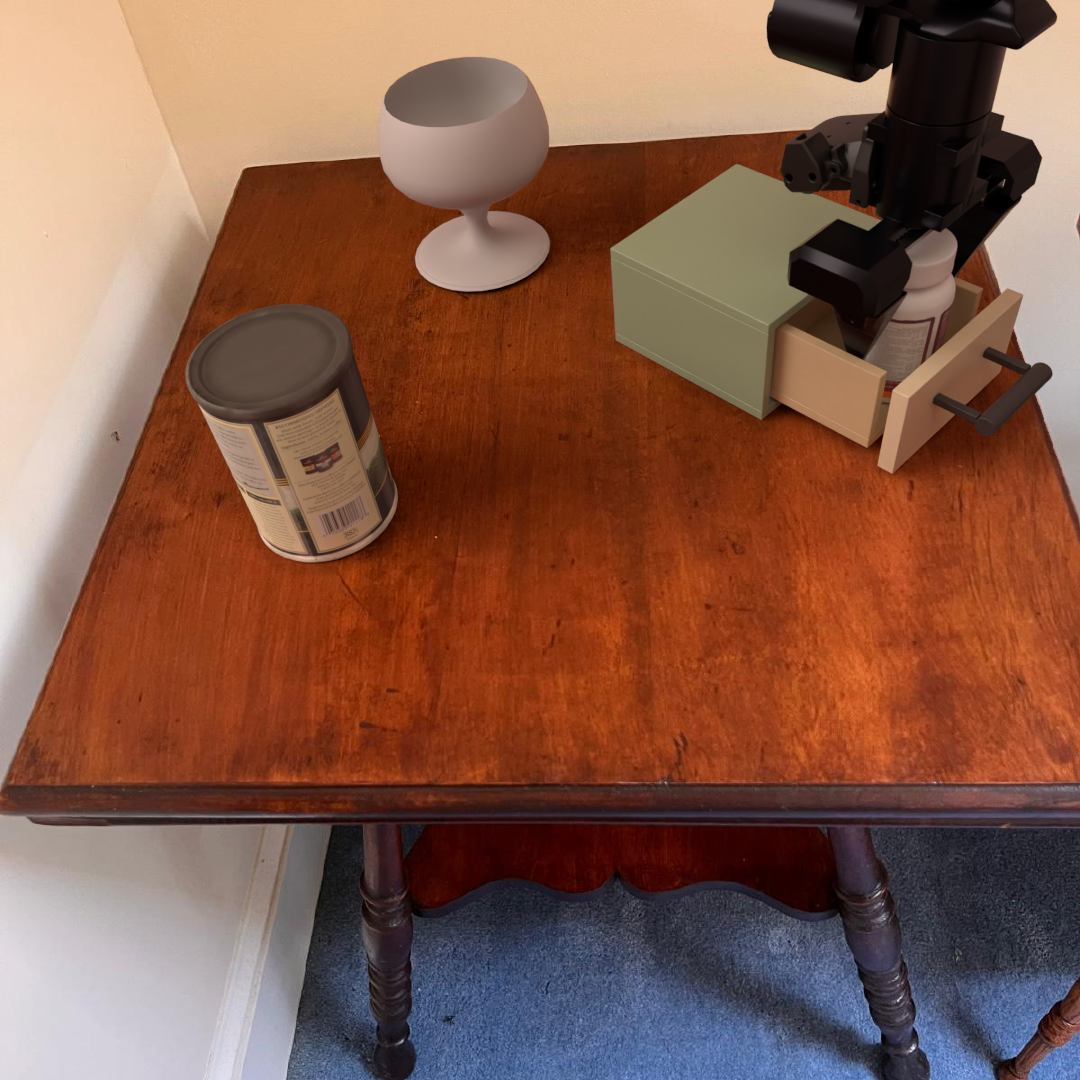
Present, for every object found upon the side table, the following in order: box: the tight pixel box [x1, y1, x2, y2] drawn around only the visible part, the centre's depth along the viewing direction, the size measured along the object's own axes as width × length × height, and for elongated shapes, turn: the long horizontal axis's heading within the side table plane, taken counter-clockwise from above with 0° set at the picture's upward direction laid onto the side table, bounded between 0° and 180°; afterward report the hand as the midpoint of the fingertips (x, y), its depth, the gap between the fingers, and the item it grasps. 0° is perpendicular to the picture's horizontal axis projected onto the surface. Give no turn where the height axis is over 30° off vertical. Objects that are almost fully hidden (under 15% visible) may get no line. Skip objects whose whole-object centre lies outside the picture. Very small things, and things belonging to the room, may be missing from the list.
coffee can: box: [184, 303, 399, 563], centre depth 69 cm, size 10×10×14 cm
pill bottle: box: [864, 228, 957, 403], centre depth 69 cm, size 6×6×11 cm
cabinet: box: [609, 163, 883, 421], centre depth 79 cm, size 15×15×9 cm
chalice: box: [377, 56, 551, 292], centre depth 87 cm, size 14×14×15 cm
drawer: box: [770, 276, 1053, 475], centre depth 72 cm, size 18×13×7 cm
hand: (896, 324), depth 70 cm, fingers open, 9 cm apart
